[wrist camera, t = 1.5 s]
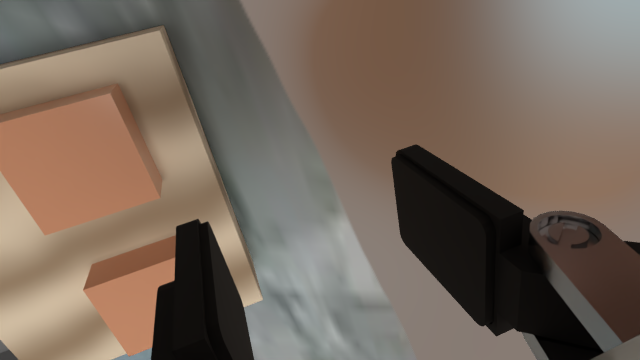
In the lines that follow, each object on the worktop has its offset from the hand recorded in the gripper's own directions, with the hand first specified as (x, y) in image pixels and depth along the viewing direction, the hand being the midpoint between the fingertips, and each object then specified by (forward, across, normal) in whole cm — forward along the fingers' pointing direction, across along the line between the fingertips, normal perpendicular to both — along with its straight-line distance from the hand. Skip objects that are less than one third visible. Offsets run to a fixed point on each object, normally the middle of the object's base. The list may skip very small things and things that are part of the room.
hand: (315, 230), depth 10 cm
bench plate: (+19, +11, +5) cm, 23 cm away
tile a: (+14, +9, 0) cm, 17 cm away
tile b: (+14, +9, +10) cm, 20 cm away
